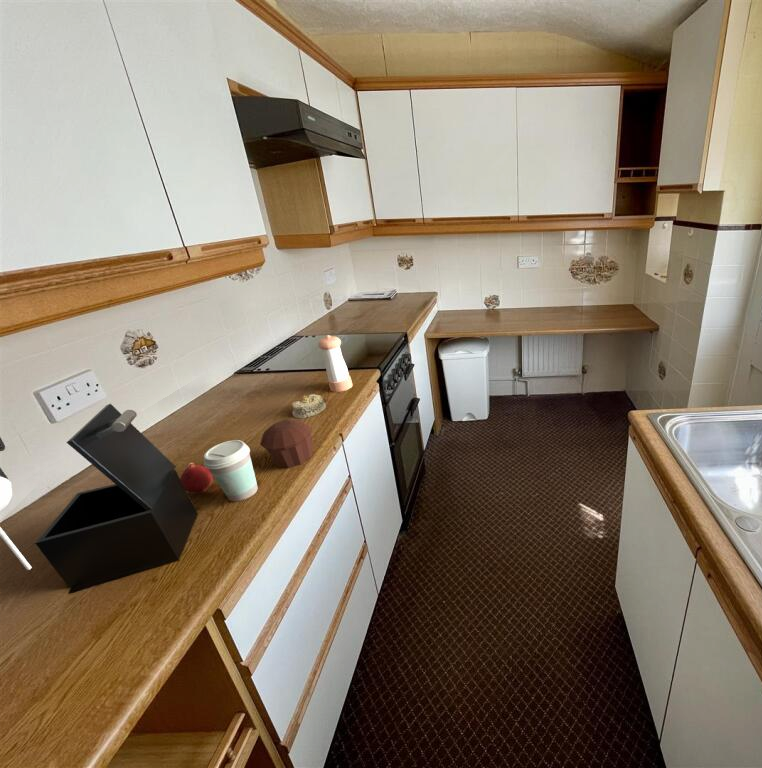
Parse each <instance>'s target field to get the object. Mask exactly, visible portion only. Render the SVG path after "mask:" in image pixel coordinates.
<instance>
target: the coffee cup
mask: <svg viewBox="0 0 762 768" xmlns="http://www.w3.org/2000/svg"><path fill="white" fill-rule="evenodd" d="M250 452H251V448H250V447H249V446H248V445H247V444H246V443H245V442H244V441H243V440H239V439H234V440H233V439H232V440H227V441H224V442H220V443H218V444H216V445H214V446H212V447H210V448H209V449H208V450H206V452H205V453H204V455H203V465H204V467H206V468H208V469H209V470H210V472H211V473H212V475H213V479H215V481H216V483H217V485H219V487H220V488H221V490H222V491H223V493H224V494H225V496H226V497H227V499H228V500H229V501H230V502H241V501H245V500H247V499H249V498H251V497H252V496H254V495H255V494H256V493H257V491H258V489H259V487H258V482H257V478H256V474H255V469H254V467H253V462H252V458H251V453H250Z"/></svg>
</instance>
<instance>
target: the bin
mask: <svg viewBox="0 0 762 768" xmlns="http://www.w3.org/2000/svg"><path fill="white" fill-rule="evenodd" d="M180 479H181V477H179V474H178V472H177V471H176V469H174V471H173V473H172V475H171V476H170V478H169V480H168V482H167V484H166V485H165V487H164V489H163V491H162V492H161V494H160V496H159V498H158V500H157V501H156V503H155V505H154V507H153V508H152V509H151V510H149V511H147V510H146V509H144V508H143V507H142V506H141V505H140V504H138V503H137V502H136V501H135V500H134V499H133V498H131V497H130V496H129V495H128V494H127V493H125V492H124V491H123V490H122V489H121V488H120V487H118V486H117V485H116V484H115V483H113V484H110V485H105V486H101V487H97V488H93V489H89V490H84V491H80V492H77V493H76V494H75V496H73V498H71V500H70V501H69V502H68V504H67V505H65V507H64V508H63V510H62V511H60V513H59V514H58V515H57V517H55V518H54V520H53V521H52V522H51V524H50V525H49V526H48V527H47V528H46V530H45V531H44V532H43V533H42V534H41V536H40V537H39V538H38V539H37V540H36V541H35V543H34V544H35V546H36V547H37V548H38V549H39V551H40V552H41V553H42V555H43V557H45V559H46V560H47V561H48V562H49V564H50V565H51V566H52V567H53V569H54V570H55V572H56V573H57V574H58V575H59V577H60V578H61V579H62V581H63V582H64V583H65V584H66V585H67V587H68V588H69V589H70V591H71V592H72V593H76V592H81V591H83V590H87V589H90V588H93V587H96V586H99V585H102V584H106V583H109V582H112V581H115V580H119V579H123V578H125V577H130V576H132V575H136V574H139V573H142V572H145V571H146V572H147V571H148V570H152V569H156V568H158V567H162V566H165V565H169V564H172V563H175V562H178V561H180V559H181V556H182V554H183V551H184V549H185V547H186V544H187V543H188V539H189V537H190V534H191V531H192V530H193V527H194V524H195V523H196V519H197V517H198V515H199V513H198V511H197V510H196V507H195V506H194V504H193V502H192V500H191V498H190V496H189V493H188V492H187V491H186V490H185V488H184V486H183V484H182V482H181V480H180Z"/></svg>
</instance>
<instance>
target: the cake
mask: <svg viewBox="0 0 762 768" xmlns="http://www.w3.org/2000/svg"><path fill="white" fill-rule="evenodd" d="M302 398H303V399H302V400H297V401H293V402H292V404H291V407H292V410H293V411H292V416H293V417H294V418H299V419H305V418H310V417H314V416H316V415H317V416H318V415H319V414H321V413H322V412H323V411H325V410H326V408H327V403H326V402H325V401H324V398H323V396H321V395H319V394H312V393H311V394H309V395H303V397H302Z"/></svg>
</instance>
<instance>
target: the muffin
mask: <svg viewBox="0 0 762 768" xmlns="http://www.w3.org/2000/svg"><path fill="white" fill-rule="evenodd" d="M261 436H262V437H261V440H260V443H259V445H260V446H261V447H262V448H263V449H265V450H266V451H267V453H268V454H269V456H270V457H271V459H272V460H273V462H274V463H275V464H276V465H277V467H278V468H286V469H290V468H293V467H296V466H300V465H303V463H305V462H306V461H308V460H311V457H312V455H313V453H314V449H313V440H312V427H311V426H309V425H308V424H306V423H305V422H303V421H301V420H298V419H297V420H295V419H284V420H280V421H277V422H276V423H274V424H272V425H270V426H269V427H268V428H267V429H266V430H265V431H263V433H262V435H261Z"/></svg>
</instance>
